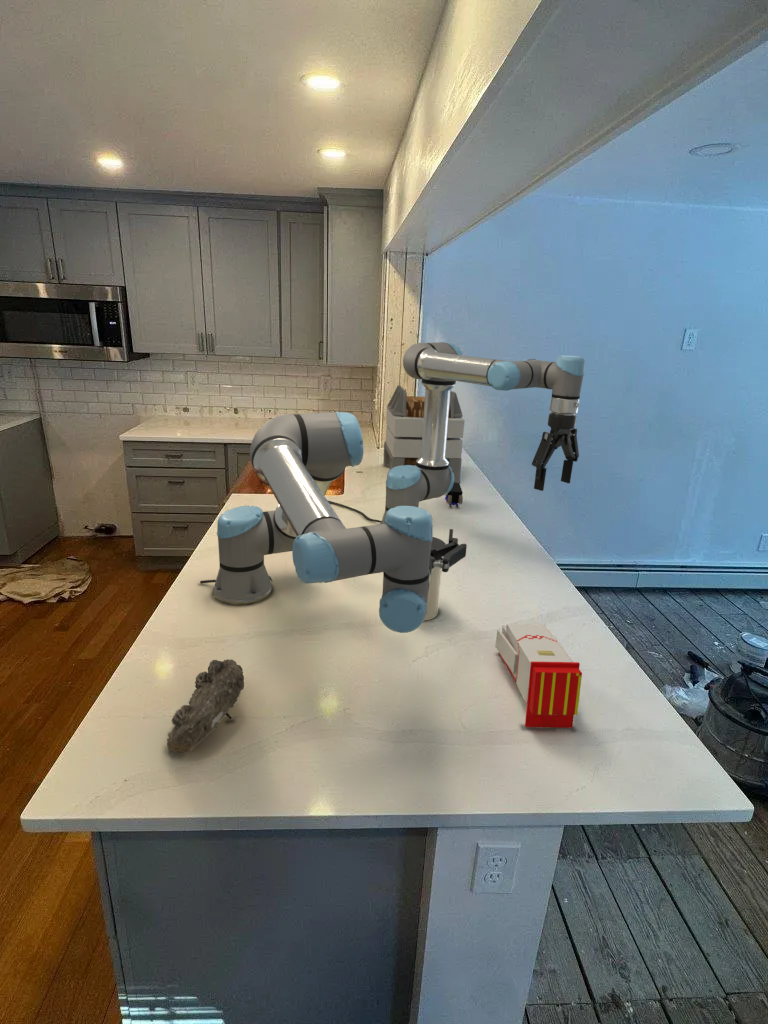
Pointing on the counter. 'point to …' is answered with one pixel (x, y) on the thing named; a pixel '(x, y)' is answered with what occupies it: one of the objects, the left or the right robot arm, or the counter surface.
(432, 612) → the jar
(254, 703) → the counter surface
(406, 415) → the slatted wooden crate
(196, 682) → the fossil
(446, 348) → the right robot arm
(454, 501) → the figurine character
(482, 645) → the counter surface
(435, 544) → the lid
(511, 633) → the toy
